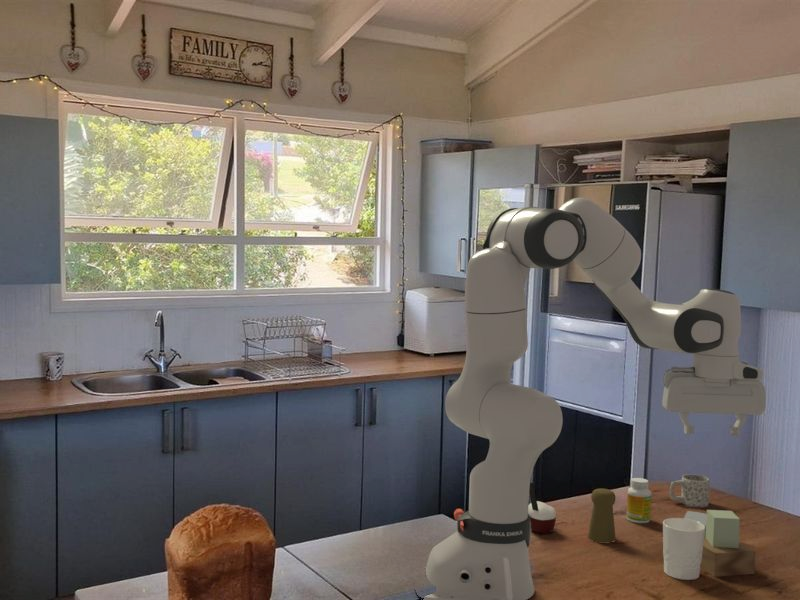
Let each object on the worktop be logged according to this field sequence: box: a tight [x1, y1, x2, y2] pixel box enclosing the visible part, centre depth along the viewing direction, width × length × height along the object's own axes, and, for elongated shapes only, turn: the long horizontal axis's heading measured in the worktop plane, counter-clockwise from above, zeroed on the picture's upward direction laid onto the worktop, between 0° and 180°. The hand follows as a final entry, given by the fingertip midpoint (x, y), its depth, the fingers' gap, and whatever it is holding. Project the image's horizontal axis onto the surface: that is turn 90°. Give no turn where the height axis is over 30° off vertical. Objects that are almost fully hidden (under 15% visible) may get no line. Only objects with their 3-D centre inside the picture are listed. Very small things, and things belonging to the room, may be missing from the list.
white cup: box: [662, 517, 705, 581], centre depth 162 cm, size 8×8×10 cm
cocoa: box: [528, 481, 557, 535], centre depth 184 cm, size 10×6×12 cm, turn 111°
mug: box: [669, 473, 711, 508], centre depth 208 cm, size 10×7×7 cm, turn 94°
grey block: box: [683, 510, 707, 536], centre depth 181 cm, size 9×9×5 cm
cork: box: [587, 488, 617, 543], centre depth 181 cm, size 6×6×11 cm
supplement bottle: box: [626, 477, 652, 524], centre depth 194 cm, size 5×5×10 cm
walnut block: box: [700, 536, 756, 578], centre depth 166 cm, size 9×9×5 cm
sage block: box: [706, 509, 741, 548], centre depth 166 cm, size 5×5×6 cm
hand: (711, 434), depth 168 cm, fingers open, 8 cm apart
